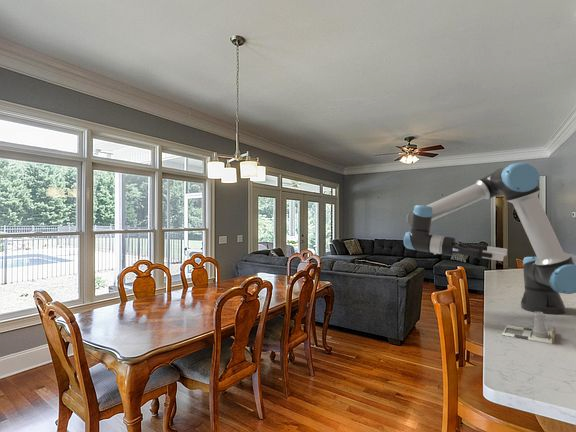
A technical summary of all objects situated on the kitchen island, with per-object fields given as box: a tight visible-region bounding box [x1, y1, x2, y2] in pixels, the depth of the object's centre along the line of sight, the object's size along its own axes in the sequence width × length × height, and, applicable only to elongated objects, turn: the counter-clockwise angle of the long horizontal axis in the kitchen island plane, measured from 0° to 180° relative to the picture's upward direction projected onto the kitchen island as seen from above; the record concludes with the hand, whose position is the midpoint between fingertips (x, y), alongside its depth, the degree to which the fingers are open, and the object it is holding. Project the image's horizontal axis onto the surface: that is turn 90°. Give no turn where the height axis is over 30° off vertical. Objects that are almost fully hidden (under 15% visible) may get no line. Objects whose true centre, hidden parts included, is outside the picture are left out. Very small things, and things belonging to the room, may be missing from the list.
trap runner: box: [501, 324, 556, 345], centre depth 111 cm, size 12×14×2 cm
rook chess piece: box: [531, 311, 548, 338], centre depth 109 cm, size 4×4×8 cm
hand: (505, 254), depth 117 cm, fingers open, 13 cm apart
